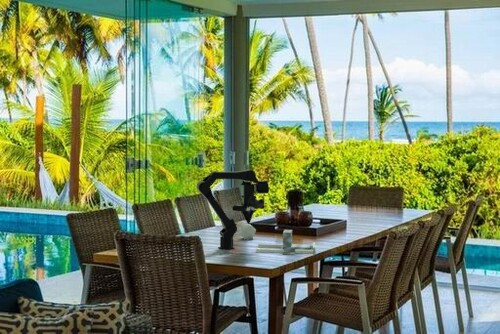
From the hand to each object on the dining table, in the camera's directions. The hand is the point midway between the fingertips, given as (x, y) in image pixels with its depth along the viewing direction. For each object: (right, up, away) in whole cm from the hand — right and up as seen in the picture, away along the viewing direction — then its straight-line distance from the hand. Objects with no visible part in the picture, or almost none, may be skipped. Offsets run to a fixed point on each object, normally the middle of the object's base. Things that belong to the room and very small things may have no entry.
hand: (248, 223), depth 458 cm
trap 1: (+21, -14, -17) cm, 30 cm away
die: (-1, -11, +35) cm, 36 cm away
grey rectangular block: (+25, -14, -4) cm, 29 cm away
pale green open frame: (+20, -14, -4) cm, 24 cm away
